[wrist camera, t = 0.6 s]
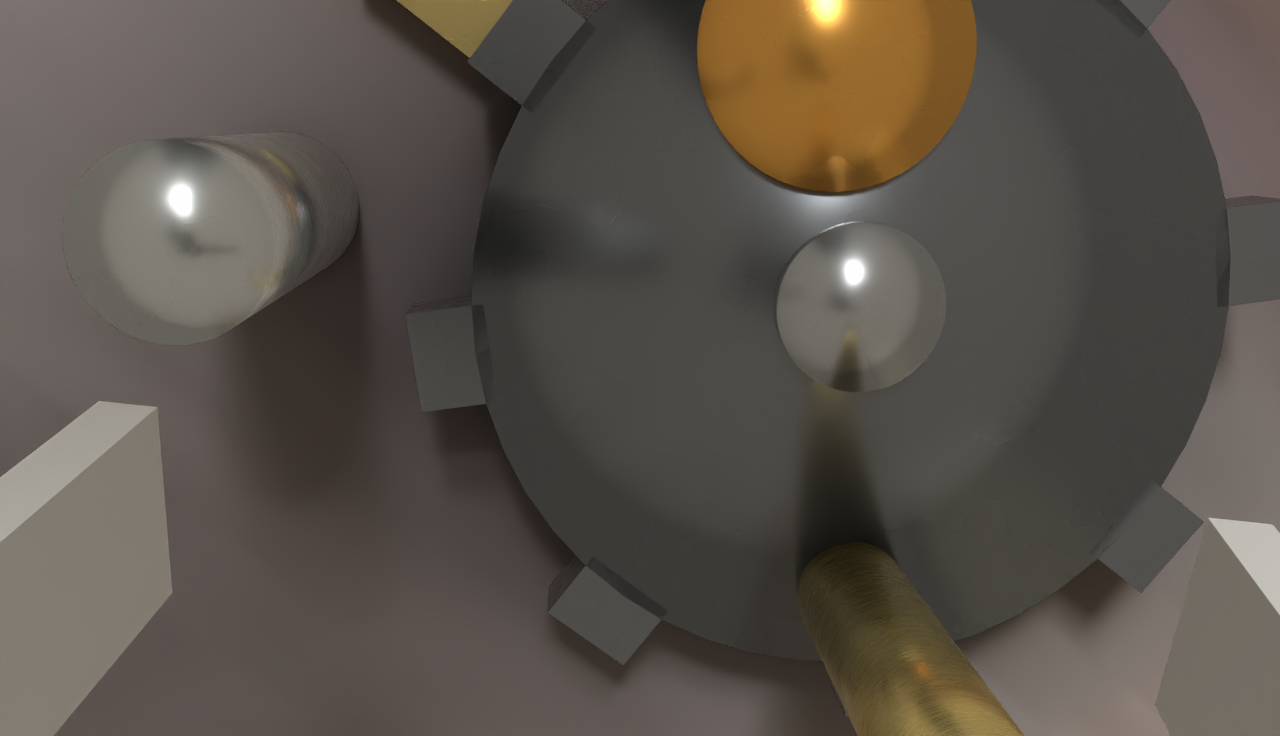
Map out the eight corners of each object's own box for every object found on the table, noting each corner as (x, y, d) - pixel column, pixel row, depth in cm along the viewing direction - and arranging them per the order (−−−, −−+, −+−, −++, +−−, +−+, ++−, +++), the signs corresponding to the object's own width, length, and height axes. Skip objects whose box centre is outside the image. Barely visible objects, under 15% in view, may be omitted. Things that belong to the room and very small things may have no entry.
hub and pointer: (476, -194, 31) (473, -206, 30) (1024, 263, 35) (1040, 268, 33) (298, 56, 32) (288, 53, 31) (846, 475, 36) (857, 488, 34)
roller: (266, 100, 32) (138, 95, 23) (388, 192, 33) (314, 225, 23) (182, 218, 33) (20, 262, 23) (304, 306, 34) (197, 385, 24)
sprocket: (785, -359, 30) (970, -754, 16) (1418, 220, 34) (1989, 291, 20) (244, 373, 32) (18, 556, 19) (887, 825, 37) (1076, 1240, 23)
